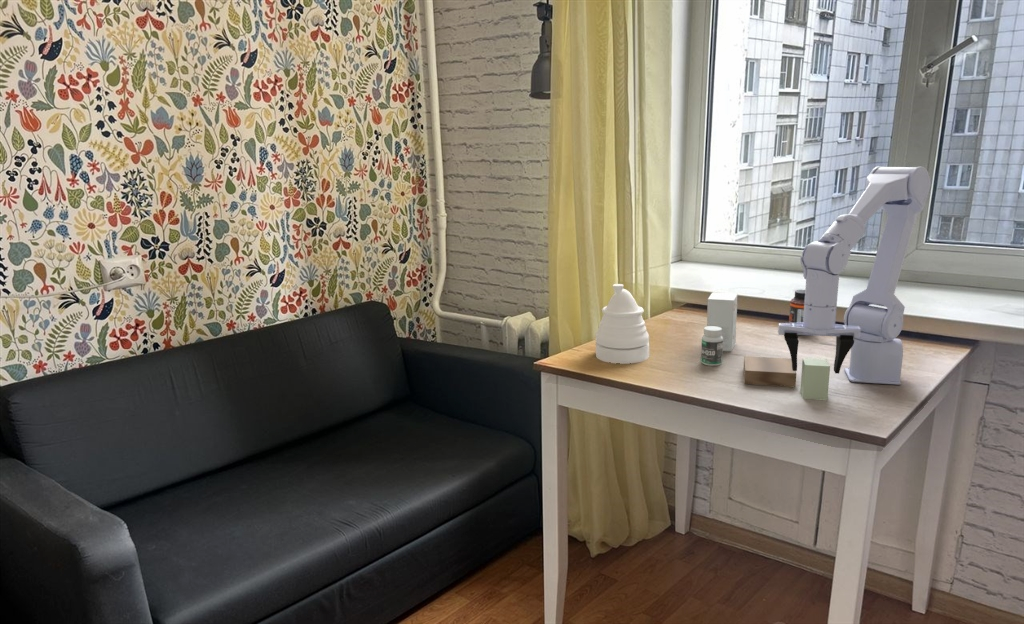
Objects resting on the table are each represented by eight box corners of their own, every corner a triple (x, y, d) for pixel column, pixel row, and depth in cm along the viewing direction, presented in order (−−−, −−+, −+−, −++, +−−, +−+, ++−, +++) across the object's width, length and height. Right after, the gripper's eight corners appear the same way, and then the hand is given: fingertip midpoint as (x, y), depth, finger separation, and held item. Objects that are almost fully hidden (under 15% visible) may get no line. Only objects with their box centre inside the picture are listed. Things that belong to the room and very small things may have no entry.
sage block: (824, 392, 136) (826, 359, 134) (827, 400, 132) (830, 366, 130) (800, 390, 137) (802, 357, 135) (802, 398, 133) (805, 364, 131)
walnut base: (791, 371, 148) (792, 358, 147) (795, 387, 139) (796, 373, 138) (743, 368, 151) (744, 356, 150) (744, 383, 142) (745, 370, 141)
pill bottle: (696, 362, 157) (697, 327, 155) (709, 358, 159) (711, 324, 157) (713, 367, 153) (714, 332, 151) (726, 363, 155) (727, 328, 153)
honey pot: (631, 367, 155) (632, 291, 151) (585, 357, 163) (584, 285, 159) (658, 353, 165) (659, 281, 160) (613, 345, 173) (613, 276, 169)
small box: (710, 340, 173) (712, 291, 170) (736, 343, 171) (738, 293, 167) (705, 349, 166) (707, 298, 163) (732, 352, 163) (734, 300, 160)
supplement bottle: (785, 329, 180) (788, 288, 178) (809, 329, 180) (812, 288, 177) (791, 335, 175) (794, 293, 172) (815, 336, 174) (818, 293, 171)
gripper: (781, 307, 128) (777, 374, 131) (865, 310, 124) (859, 379, 127) (779, 299, 135) (775, 363, 138) (858, 301, 131) (852, 368, 134)
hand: (815, 370), depth 133 cm, fingers open, 7 cm apart
